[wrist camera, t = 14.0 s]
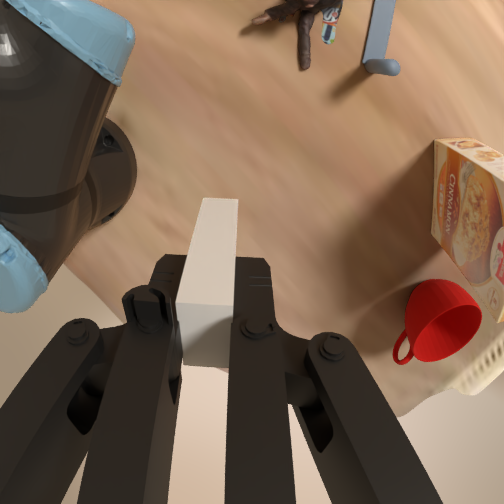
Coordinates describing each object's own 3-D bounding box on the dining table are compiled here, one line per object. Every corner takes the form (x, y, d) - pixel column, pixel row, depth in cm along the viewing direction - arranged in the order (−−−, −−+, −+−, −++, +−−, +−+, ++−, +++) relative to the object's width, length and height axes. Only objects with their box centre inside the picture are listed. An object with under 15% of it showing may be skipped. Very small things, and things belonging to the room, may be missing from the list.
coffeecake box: (432, 138, 35) (533, 203, 19) (472, 136, 34) (571, 196, 18) (428, 235, 43) (495, 326, 27) (464, 228, 42) (535, 309, 26)
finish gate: (360, 69, 31) (379, 71, 26) (381, -40, 22) (402, -53, 17) (379, 75, 31) (401, 79, 26) (399, -32, 22) (422, -43, 17)
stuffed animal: (302, -66, 21) (376, -16, 19) (316, -17, 30) (375, 37, 29) (212, -22, 24) (271, 35, 23) (243, 22, 33) (293, 81, 32)
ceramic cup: (361, 317, 52) (377, 362, 43) (435, 250, 44) (465, 290, 36) (400, 341, 56) (416, 382, 48) (466, 285, 49) (491, 322, 40)
